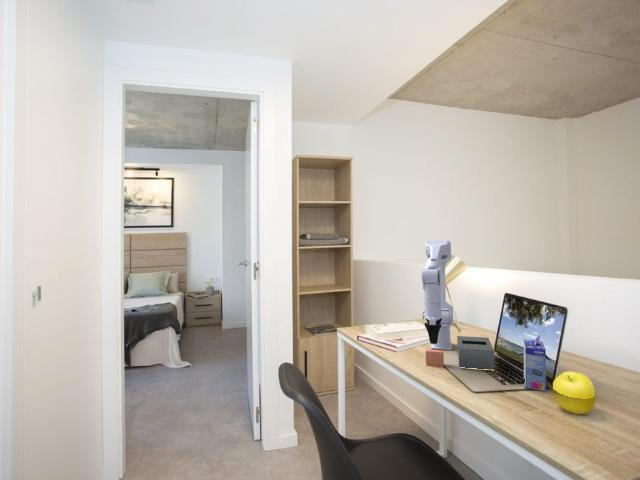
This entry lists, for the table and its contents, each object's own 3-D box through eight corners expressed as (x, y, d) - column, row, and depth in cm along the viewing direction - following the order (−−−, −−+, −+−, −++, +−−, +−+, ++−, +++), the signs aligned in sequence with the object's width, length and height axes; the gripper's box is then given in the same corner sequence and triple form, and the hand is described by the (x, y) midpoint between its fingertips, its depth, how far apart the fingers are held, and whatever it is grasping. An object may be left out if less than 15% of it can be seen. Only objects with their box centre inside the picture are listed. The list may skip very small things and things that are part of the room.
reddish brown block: (426, 362, 126) (425, 349, 126) (443, 364, 124) (443, 350, 124) (426, 365, 124) (425, 351, 124) (443, 366, 122) (443, 352, 122)
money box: (457, 354, 135) (457, 335, 135) (489, 356, 131) (488, 337, 131) (459, 368, 120) (458, 348, 120) (494, 371, 116) (494, 350, 116)
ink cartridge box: (547, 392, 99) (545, 341, 100) (525, 389, 102) (523, 339, 102) (544, 379, 108) (542, 333, 108) (523, 377, 111) (521, 331, 111)
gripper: (422, 299, 133) (423, 334, 132) (419, 305, 119) (421, 345, 119) (441, 299, 130) (443, 335, 130) (441, 306, 117) (443, 347, 116)
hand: (434, 340), depth 124 cm, fingers open, 7 cm apart
